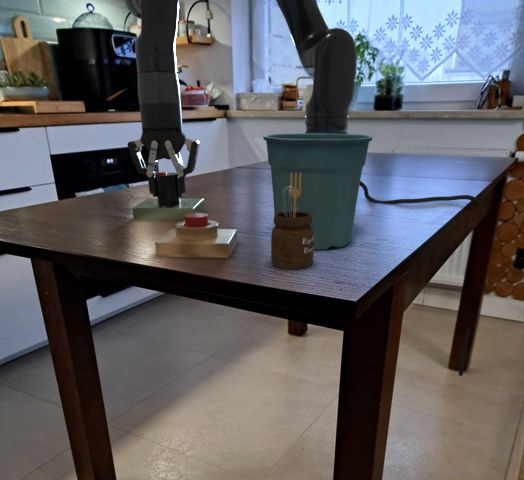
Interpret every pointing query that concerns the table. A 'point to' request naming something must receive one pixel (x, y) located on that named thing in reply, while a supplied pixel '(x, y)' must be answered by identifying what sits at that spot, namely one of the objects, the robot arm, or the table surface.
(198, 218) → the button
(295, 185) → the utensil holder
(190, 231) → the button block
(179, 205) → the panel
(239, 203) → the table surface
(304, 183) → the flower pot
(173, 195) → the black cylinder
